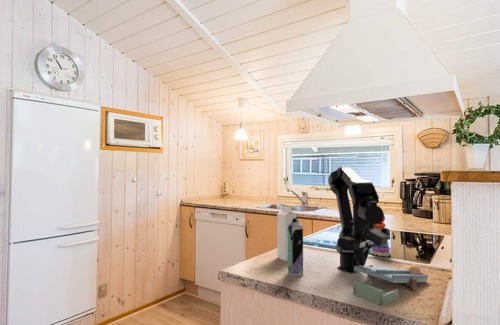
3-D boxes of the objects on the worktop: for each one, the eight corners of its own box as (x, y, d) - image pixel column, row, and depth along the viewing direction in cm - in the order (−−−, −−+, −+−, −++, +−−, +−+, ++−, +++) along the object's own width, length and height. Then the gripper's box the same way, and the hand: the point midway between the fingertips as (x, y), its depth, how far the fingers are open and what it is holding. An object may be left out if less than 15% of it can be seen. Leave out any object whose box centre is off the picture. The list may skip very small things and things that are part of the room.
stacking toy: (384, 252, 137) (384, 210, 137) (393, 257, 129) (393, 213, 129) (367, 252, 137) (367, 211, 137) (375, 257, 129) (375, 213, 129)
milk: (285, 261, 123) (284, 207, 124) (277, 257, 128) (276, 206, 129) (297, 259, 126) (296, 206, 126) (288, 255, 131) (288, 205, 132)
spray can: (300, 277, 104) (299, 219, 105) (285, 274, 107) (285, 218, 108) (305, 272, 109) (304, 217, 110) (291, 270, 112) (290, 216, 113)
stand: (367, 275, 106) (367, 266, 106) (371, 274, 107) (371, 264, 107) (412, 290, 93) (412, 279, 93) (416, 288, 94) (416, 278, 94)
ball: (406, 273, 101) (407, 262, 102) (411, 275, 103) (412, 264, 104) (416, 276, 98) (418, 265, 99) (421, 278, 100) (423, 267, 101)
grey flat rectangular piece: (353, 270, 100) (354, 262, 101) (387, 270, 111) (387, 263, 111) (394, 283, 89) (395, 274, 89) (427, 282, 100) (427, 274, 100)
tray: (353, 294, 90) (353, 281, 90) (370, 288, 95) (370, 275, 95) (381, 305, 82) (381, 291, 82) (398, 298, 87) (398, 284, 87)
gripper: (366, 225, 88) (366, 278, 88) (400, 219, 99) (401, 267, 98) (336, 220, 97) (336, 268, 97) (370, 215, 108) (370, 259, 108)
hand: (362, 265), depth 100 cm, fingers closed
